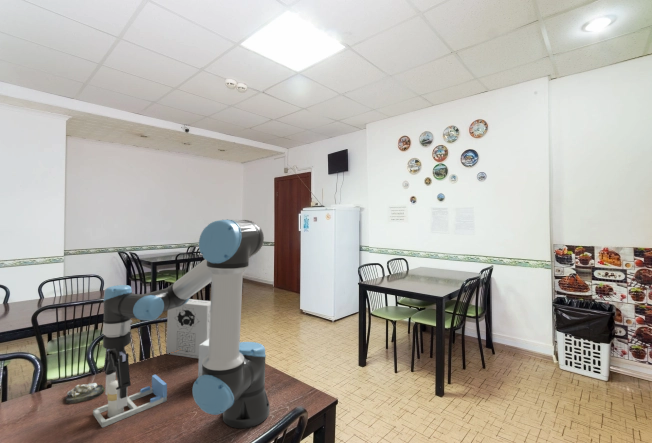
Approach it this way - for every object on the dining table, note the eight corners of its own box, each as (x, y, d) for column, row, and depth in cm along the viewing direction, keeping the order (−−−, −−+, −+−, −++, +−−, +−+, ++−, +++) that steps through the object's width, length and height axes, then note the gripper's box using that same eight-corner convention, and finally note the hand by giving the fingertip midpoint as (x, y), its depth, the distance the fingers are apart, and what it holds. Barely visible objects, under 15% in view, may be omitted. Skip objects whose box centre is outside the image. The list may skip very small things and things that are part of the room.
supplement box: (217, 385, 121) (218, 347, 120) (197, 382, 122) (198, 344, 122) (229, 374, 129) (230, 338, 129) (210, 371, 131) (211, 336, 131)
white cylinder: (126, 413, 102) (127, 383, 102) (109, 419, 99) (110, 388, 99) (121, 407, 105) (122, 378, 105) (105, 413, 102) (105, 383, 102)
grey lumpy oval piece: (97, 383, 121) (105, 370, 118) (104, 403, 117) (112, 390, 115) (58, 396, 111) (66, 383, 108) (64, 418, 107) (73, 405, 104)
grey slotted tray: (155, 390, 116) (155, 374, 116) (166, 400, 110) (167, 383, 110) (93, 414, 102) (93, 395, 102) (102, 427, 95) (102, 408, 95)
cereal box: (215, 353, 149) (216, 301, 149) (206, 360, 142) (207, 305, 142) (177, 347, 155) (178, 297, 155) (166, 354, 147) (167, 301, 147)
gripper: (143, 339, 97) (142, 409, 98) (118, 322, 112) (117, 382, 112) (115, 346, 92) (114, 420, 92) (93, 327, 107) (92, 391, 107)
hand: (116, 399), depth 102 cm, fingers open, 11 cm apart
